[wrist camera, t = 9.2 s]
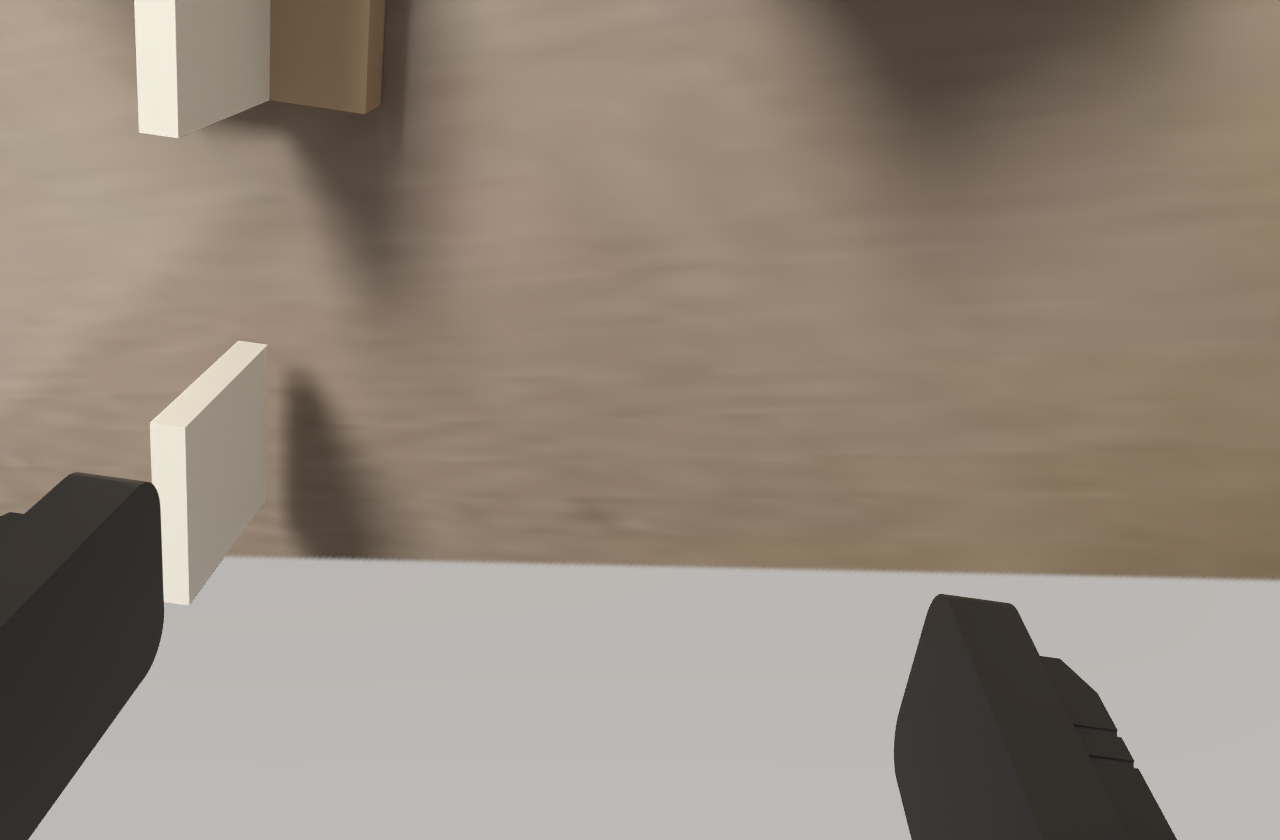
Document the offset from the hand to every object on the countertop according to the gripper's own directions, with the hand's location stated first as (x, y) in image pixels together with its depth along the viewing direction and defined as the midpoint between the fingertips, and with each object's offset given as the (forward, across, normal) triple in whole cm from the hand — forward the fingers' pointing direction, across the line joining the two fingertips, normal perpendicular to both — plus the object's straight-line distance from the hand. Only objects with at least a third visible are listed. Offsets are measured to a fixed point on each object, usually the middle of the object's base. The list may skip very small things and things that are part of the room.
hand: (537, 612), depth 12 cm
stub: (+26, +12, +11) cm, 31 cm away
